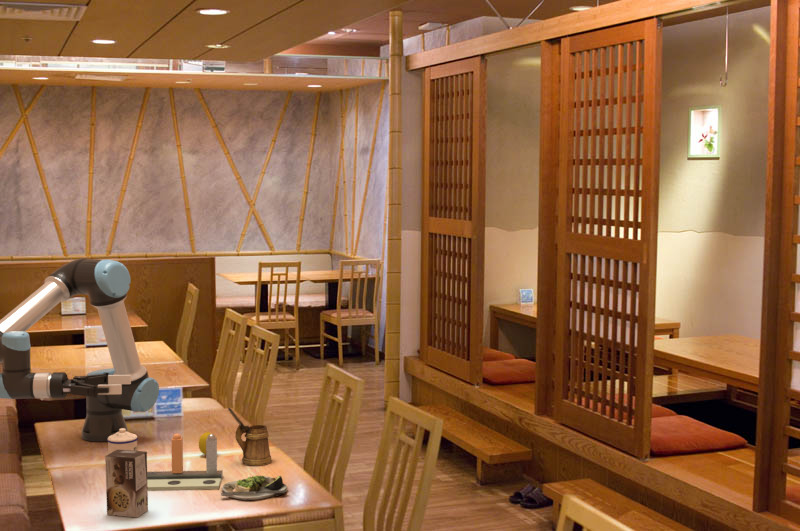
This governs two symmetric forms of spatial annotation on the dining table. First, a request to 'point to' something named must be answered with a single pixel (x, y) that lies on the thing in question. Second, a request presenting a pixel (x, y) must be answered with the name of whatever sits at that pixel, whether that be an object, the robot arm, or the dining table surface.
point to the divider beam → (208, 474)
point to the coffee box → (126, 483)
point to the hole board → (183, 484)
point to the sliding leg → (177, 453)
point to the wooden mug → (253, 443)
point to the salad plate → (254, 488)
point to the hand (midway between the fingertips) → (126, 384)
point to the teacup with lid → (122, 441)
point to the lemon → (203, 442)
